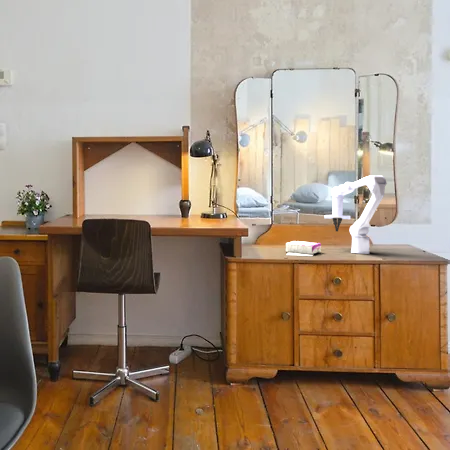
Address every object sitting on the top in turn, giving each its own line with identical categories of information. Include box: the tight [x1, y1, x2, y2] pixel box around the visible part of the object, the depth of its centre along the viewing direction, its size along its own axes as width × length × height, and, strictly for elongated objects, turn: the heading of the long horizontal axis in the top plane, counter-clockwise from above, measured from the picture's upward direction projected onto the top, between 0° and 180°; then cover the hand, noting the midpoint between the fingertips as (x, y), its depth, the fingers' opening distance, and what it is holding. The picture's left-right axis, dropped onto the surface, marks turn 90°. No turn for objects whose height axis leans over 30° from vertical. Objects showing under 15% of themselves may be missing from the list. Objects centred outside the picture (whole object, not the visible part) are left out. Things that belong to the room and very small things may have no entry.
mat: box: [285, 252, 315, 257], centre depth 244 cm, size 14×16×1 cm
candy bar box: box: [285, 240, 322, 254], centre depth 247 cm, size 11×5×16 cm
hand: (336, 231), depth 259 cm, fingers closed
